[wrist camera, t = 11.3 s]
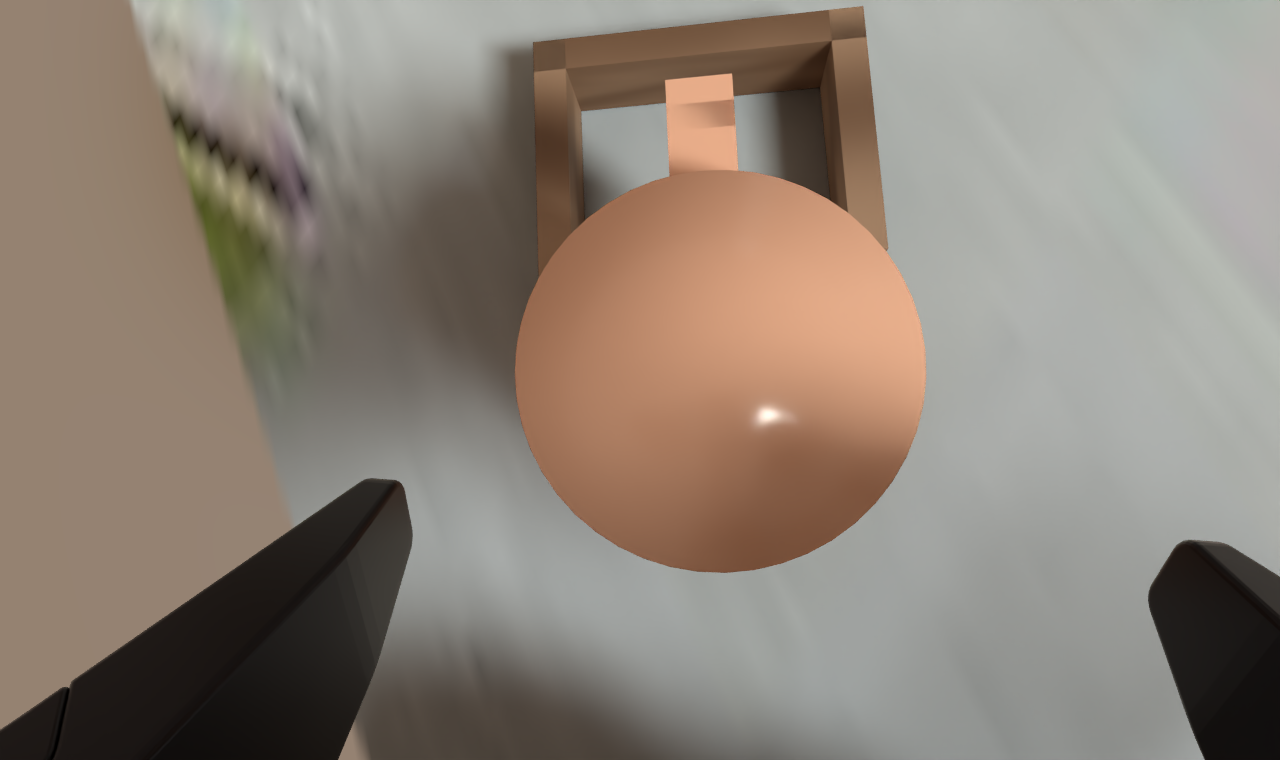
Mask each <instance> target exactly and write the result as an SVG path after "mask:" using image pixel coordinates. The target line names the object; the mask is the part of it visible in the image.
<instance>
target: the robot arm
mask: <svg viewBox="0 0 1280 760" xmlns="http://www.w3.org/2000/svg"><path fill="white" fill-rule="evenodd" d="M412 537H413V533H412V525H411V520H410V515H409V510H408V505H407V500H406V495H405V490H404V487H403V485H402V484H401V483H400V482H399V481H396V480H388V479H374V478H370V479H365V480H363V481H361V482H360V483H358V484H357V485H355V486H354V487H352V488H351V489H349V490H348V491H347V492H345V493H344V494H342V495H341V496H339V497H338V498H336V499H335V500H333V501H332V502H331V503H329V504H328V505H326V506H325V507H323V508H322V509H320V510H319V511H318V512H316V513H315V514H313V515H312V516H310V517H309V518H307V519H306V520H304V521H303V522H302V523H300V524H299V525H297V526H296V527H294V528H293V529H291V530H290V531H289V532H287V533H286V534H284V535H283V536H281V537H280V538H279V539H277V540H276V541H274V542H273V543H271V544H270V545H268V546H267V547H265V548H264V549H262V550H261V551H260V552H258V553H257V554H255V555H254V556H252V557H251V558H249V559H248V560H247V561H245V562H244V563H242V564H241V565H240V566H238V567H236V568H235V569H234V570H232V571H231V572H229V573H228V574H226V575H225V576H223V577H222V578H221V579H219V580H218V581H216V582H215V583H213V584H212V585H210V586H209V587H208V588H206V589H204V590H203V591H202V592H200V593H199V594H197V595H196V596H194V597H193V598H191V599H190V600H189V601H187V602H186V603H184V604H183V605H181V606H180V607H178V608H177V609H176V610H174V611H173V612H171V613H170V614H168V615H167V616H165V617H164V618H162V619H161V620H160V621H158V622H157V623H155V624H154V625H153V626H151V627H149V628H148V629H147V630H145V631H144V632H142V633H141V634H140V635H138V636H136V637H135V638H134V639H132V640H131V641H129V642H128V643H126V644H125V645H124V646H122V647H120V648H119V649H118V650H116V651H115V652H113V653H112V654H110V655H109V656H108V657H106V658H105V659H103V660H102V661H100V662H99V663H97V664H96V665H94V666H93V667H91V668H90V669H89V670H87V671H86V672H84V673H83V674H81V675H80V676H78V677H77V678H76V679H74V680H73V681H72V682H71V684H70V688H68V687H63V688H61V689H59V690H58V691H56V692H55V693H54V694H52V695H50V696H49V697H48V698H46V699H45V700H43V701H42V702H40V703H39V704H37V705H36V706H35V707H33V708H32V709H30V710H29V711H27V712H26V713H24V714H23V715H21V716H20V717H19V718H17V719H15V720H14V721H12V722H11V723H9V724H8V725H6V726H5V727H3V728H2V729H1V730H0V760H338V758H339V756H340V753H341V751H342V749H343V746H344V744H345V741H346V739H347V737H348V734H349V732H350V730H351V727H352V725H353V722H354V720H355V718H356V715H357V713H358V710H359V708H360V706H361V703H362V701H363V698H364V696H365V694H366V691H367V689H368V686H369V684H370V681H371V679H372V676H373V674H374V671H375V668H376V666H377V662H378V659H379V656H380V653H381V650H382V647H383V643H384V640H385V636H386V633H387V629H388V626H389V623H390V619H391V616H392V612H393V609H394V605H395V602H396V599H397V595H398V592H399V588H400V585H401V581H402V578H403V575H404V571H405V568H406V564H407V561H408V557H409V554H410V550H411V546H412ZM1148 602H1149V608H1150V612H1151V615H1152V618H1153V620H1154V623H1155V626H1156V629H1157V632H1158V635H1159V638H1160V641H1161V643H1162V646H1163V649H1164V652H1165V655H1166V658H1167V661H1168V663H1169V666H1170V669H1171V672H1172V675H1173V678H1174V681H1175V683H1176V686H1177V689H1178V692H1179V695H1180V698H1181V701H1182V703H1183V706H1184V709H1185V712H1186V715H1187V718H1188V720H1189V723H1190V725H1191V728H1192V731H1193V733H1194V736H1195V739H1196V741H1197V743H1198V745H1199V748H1200V750H1201V752H1202V755H1203V757H1204V759H1205V760H1280V577H1279V576H1278V575H1276V574H1275V573H1273V572H1271V571H1270V570H1268V569H1267V568H1265V567H1263V566H1262V565H1260V564H1259V563H1257V562H1255V561H1254V560H1252V559H1251V558H1249V557H1247V556H1246V555H1244V554H1242V553H1241V552H1239V551H1238V550H1236V549H1234V548H1233V547H1231V546H1229V545H1227V544H1224V543H1221V542H1213V541H1200V540H1185V541H1182V542H1181V543H1179V544H1178V545H1176V547H1175V548H1174V549H1173V551H1172V552H1171V554H1170V556H1169V557H1168V559H1167V560H1166V562H1165V564H1164V565H1163V567H1162V568H1161V570H1160V572H1159V573H1158V575H1157V577H1156V578H1155V580H1154V581H1153V583H1152V585H1151V587H1150V590H1149V595H1148Z"/></svg>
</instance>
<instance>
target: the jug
mask: <svg viewBox="0 0 1280 760" xmlns="http://www.w3.org/2000/svg"><path fill="white" fill-rule="evenodd" d="M665 87H666V108H667V130H668V151H669V173H670V177H666V178H663V179H659V180H655V181H652V182H650V183H647V184H645V185H643V186H640V187H638V188H635V189H633V190H630V191H629V192H627V193H625V194H623V195H621V196H620V197H618V198H616V199H614V200H613V201H611V202H609V203H607V204H606V205H605V206H603V207H602V208H601V209H599V210H598V211H596V212H595V213H594V214H592V215H591V216H590V217H588V218H587V219H586V220H585V221H584V222H583V223H582V224H581V225H580V226H579V227H578V228H576V229H575V230H574V231H573V232H572V233H571V234H570V235H569V236H568V237H567V239H566V240H565V241H564V242H563V243H562V245H561V246H560V247H559V248H558V250H557V251H556V252H555V253H554V254H553V256H552V257H551V259H550V260H549V262H548V264H547V265H546V267H545V268H544V270H543V272H542V273H541V275H540V276H539V278H538V280H537V283H536V285H535V287H534V289H533V291H532V293H531V295H530V298H529V300H528V303H527V306H526V309H525V312H524V315H523V318H522V322H521V326H520V331H519V336H518V342H517V347H516V362H515V382H516V396H517V403H518V408H519V412H520V417H521V422H522V426H523V429H524V432H525V435H526V437H527V440H528V443H529V446H530V449H531V451H532V453H533V455H534V457H535V459H536V461H537V463H538V465H539V467H540V469H541V471H542V473H543V474H544V476H545V477H546V479H547V480H548V481H549V483H550V484H551V486H552V487H553V489H554V490H555V492H556V493H557V495H558V496H559V497H560V498H561V499H562V500H563V501H564V502H565V504H566V505H567V506H568V507H569V508H570V509H571V510H572V511H573V512H574V514H575V515H577V516H578V517H579V518H580V519H581V520H582V521H584V522H585V523H586V524H587V525H588V526H589V527H591V528H592V529H593V530H594V531H595V532H597V533H598V534H600V535H601V536H603V537H605V538H606V539H608V540H609V541H611V542H612V543H614V544H615V545H617V546H618V547H621V548H623V549H625V550H627V551H629V552H631V553H633V554H635V555H637V556H640V557H642V558H644V559H647V560H650V561H653V562H657V563H660V564H663V565H666V566H669V567H674V568H680V569H686V570H691V571H697V572H721V573H727V572H738V571H749V570H756V569H760V568H765V567H769V566H773V565H777V564H781V563H784V562H787V561H789V560H792V559H795V558H797V557H800V556H803V555H805V554H808V553H810V552H811V551H813V550H815V549H817V548H819V547H821V546H822V545H824V544H826V543H828V542H830V541H832V540H833V539H834V538H836V537H837V536H839V535H840V534H841V533H843V532H844V531H845V530H847V529H848V528H849V527H851V526H852V525H853V524H855V523H856V522H857V521H858V520H859V519H860V518H861V517H862V516H863V515H864V514H865V513H866V512H867V511H868V510H869V509H870V508H871V507H872V506H873V505H874V504H875V503H876V502H877V501H878V499H879V498H880V497H881V496H882V494H883V493H884V492H885V490H886V489H887V488H888V487H889V485H890V484H891V483H892V481H893V480H894V478H895V476H896V474H897V473H898V471H899V469H900V467H901V466H902V464H903V462H904V460H905V459H906V457H907V454H908V452H909V449H910V447H911V444H912V442H913V439H914V437H915V434H916V432H917V428H918V424H919V420H920V416H921V412H922V408H923V403H924V393H925V384H926V358H925V346H924V340H923V334H922V329H921V323H920V320H919V317H918V314H917V311H916V308H915V304H914V301H913V298H912V296H911V294H910V292H909V290H908V288H907V285H906V283H905V281H904V279H903V277H902V275H901V273H900V272H899V270H898V269H897V267H896V265H895V264H894V262H893V261H892V259H891V258H890V256H889V255H888V253H887V252H886V250H885V249H884V248H883V247H882V246H881V245H880V243H879V242H878V241H877V240H876V239H875V238H874V237H873V235H872V234H871V233H870V232H869V231H868V230H867V229H866V228H865V227H864V226H862V225H861V224H860V223H859V222H858V221H857V220H856V219H855V218H854V217H852V216H851V215H850V214H849V213H847V212H846V211H845V210H843V209H842V208H840V207H839V206H837V205H836V204H834V203H833V202H831V201H830V200H829V199H827V198H825V197H823V196H821V195H819V194H817V193H815V192H813V191H811V190H809V189H807V188H805V187H803V186H800V185H797V184H795V183H792V182H789V181H786V180H784V179H781V178H777V177H772V176H768V175H764V174H759V173H755V172H745V171H738V160H737V144H736V128H735V112H734V96H733V80H732V73H731V74H721V75H711V76H701V77H691V78H681V79H671V80H665Z"/></svg>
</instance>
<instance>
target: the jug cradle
mask: <svg viewBox="0 0 1280 760" xmlns="http://www.w3.org/2000/svg"><path fill="white" fill-rule="evenodd" d="M533 56H534V101H535V145H536V189H537V233H538V275H539V276H540V275H541V273H542V272H543V270H544V268H545V267H546V265H547V264H548V262H549V260H550V259H551V257H552V256H553V254H554V253H555V252H556V251H557V250H558V248H559V247H560V246H561V245H562V243H563V242H564V241H565V240H566V239H567V237H568V236H569V235H570V234H571V233H572V232H573V231H574V230H575V229H576V228H578V227H579V226H580V225H581V224H582V223H583V222H584V221H585V212H584V183H583V153H582V123H581V111H587V110H597V109H607V108H617V107H627V106H638V105H648V104H658V103H666V87H665V80H671V79H681V78H691V77H701V76H711V75H721V74H731V73H732V80H733V96H738V95H748V94H759V93H769V92H779V91H789V90H799V89H809V88H819V87H820V93H821V104H822V115H823V126H824V137H825V148H826V159H827V170H828V181H829V192H830V201H831V202H833V203H834V204H836V205H837V206H839V207H840V208H842V209H843V210H845V211H846V212H847V213H849V214H850V215H851V216H852V217H854V218H855V219H856V220H857V221H858V222H859V223H860V224H861V225H862V226H864V227H865V228H866V229H867V230H868V231H869V232H870V233H871V234H872V235H873V237H874V238H875V239H876V240H877V241H878V242H879V243H880V245H881V246H882V247H883V248H884V249H885V250H886V251H887V249H888V241H887V232H886V222H885V212H884V203H883V193H882V183H881V174H880V164H879V154H878V145H877V135H876V125H875V116H874V106H873V96H872V87H871V77H870V67H869V58H868V48H867V38H866V29H865V19H864V9H863V6H861V7H852V8H843V9H834V10H824V11H815V12H806V13H797V14H788V15H779V16H770V17H761V18H751V19H742V20H733V21H724V22H715V23H706V24H697V25H688V26H678V27H669V28H660V29H651V30H642V31H633V32H624V33H614V34H605V35H596V36H587V37H578V38H569V39H560V40H551V41H541V42H533Z"/></svg>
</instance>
